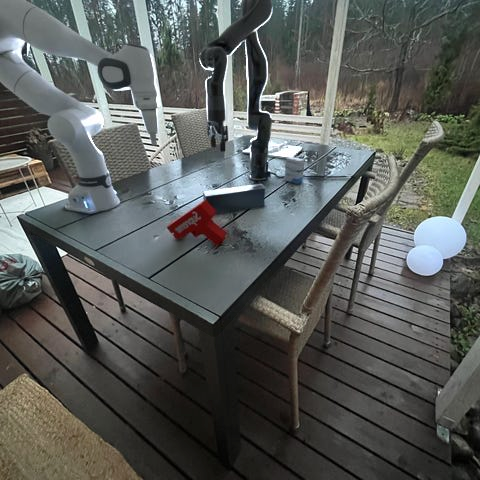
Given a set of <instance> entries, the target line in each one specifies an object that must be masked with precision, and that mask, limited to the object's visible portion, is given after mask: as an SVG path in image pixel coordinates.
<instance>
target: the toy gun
mask: <svg viewBox="0 0 480 480" xmlns="http://www.w3.org/2000/svg"><path fill="white" fill-rule="evenodd" d="M216 215H217V214H216V211H215V209H214V208H213V207H212V206H211V205H210V204H209V203H208V202H207V200H204V199H203V200H202V201H200V202H199V203H198V204H196V205H195V206H193V207H192V208H190V209H189V210H187V211H186V212H185V213H183V214H182V215H180V216H179V217H177V218H175V219H174V220H173V221H172V222H171V223H170V224H168V225H167V226H166V229H167V230H168V231H169V232H170V234H172V236H173V238H174V239H175V240H181V239H183V238H184V237H186V236H188V235H189V234H192V236H193V237H194V238H198V237H200V236H202V235H203V236H204V237H205V238H207V239H208V240H209V241H210V242H212V243H213V246H214V247H216V248H217V246H218V245H223V243H224V242H225V240H226V239H227V237H226V236H227V234H228V231H226V229H224V228H223V227H221V226H220V225H218V224H217V223H216V222H215V221H214V220H213V219H214V217H215V216H216Z"/></svg>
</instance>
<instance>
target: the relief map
mask: <svg viewBox="0 0 480 480" xmlns="http://www.w3.org/2000/svg"><path fill="white" fill-rule="evenodd" d="M302 147H303V146H294V145H292V144H290V143H289V142H288V141H284V142H282V143H280V144H279V143H278V142H276V141H273V140H272V139H271V138H270V141H269V145H268V157H271V158H277V159H285V160H286V159H287V158H289V157H296V156H297V155H298V154H299V153H300V152H302V151H303V150H304V148H303V149H302ZM250 148H251V145H250V146H249V147H248V148H247V149H245V150H242V153H243V154H247V155H248V154H249V155H250ZM296 153H297V154H296Z"/></svg>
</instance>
